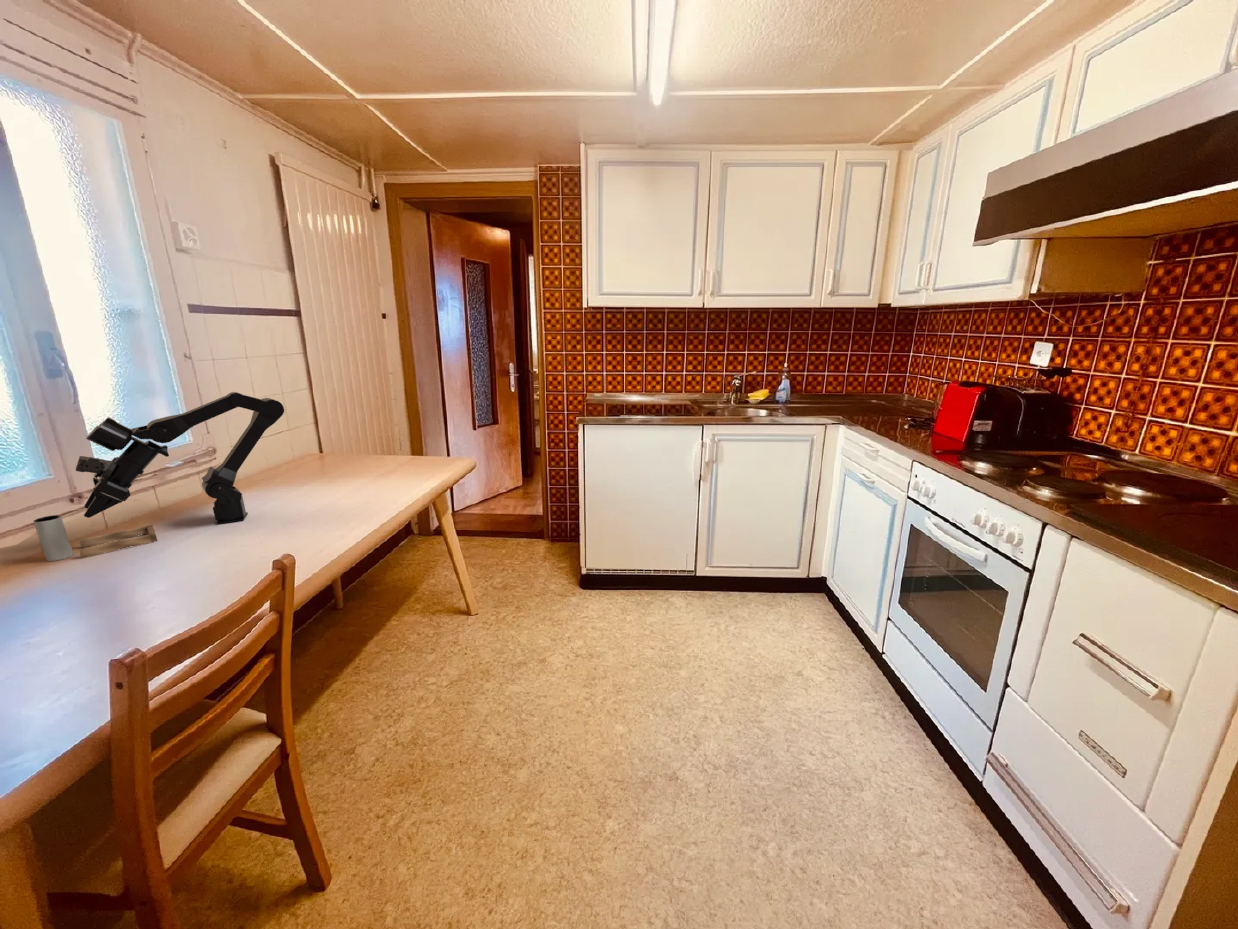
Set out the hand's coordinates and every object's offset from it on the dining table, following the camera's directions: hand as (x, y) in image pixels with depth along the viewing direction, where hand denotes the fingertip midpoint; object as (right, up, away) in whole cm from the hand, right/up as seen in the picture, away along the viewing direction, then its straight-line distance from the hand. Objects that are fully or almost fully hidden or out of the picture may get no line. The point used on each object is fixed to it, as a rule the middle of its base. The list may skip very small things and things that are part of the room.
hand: (86, 512), depth 126 cm
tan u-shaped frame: (+3, -9, +5) cm, 11 cm away
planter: (-4, -11, -2) cm, 12 cm away
